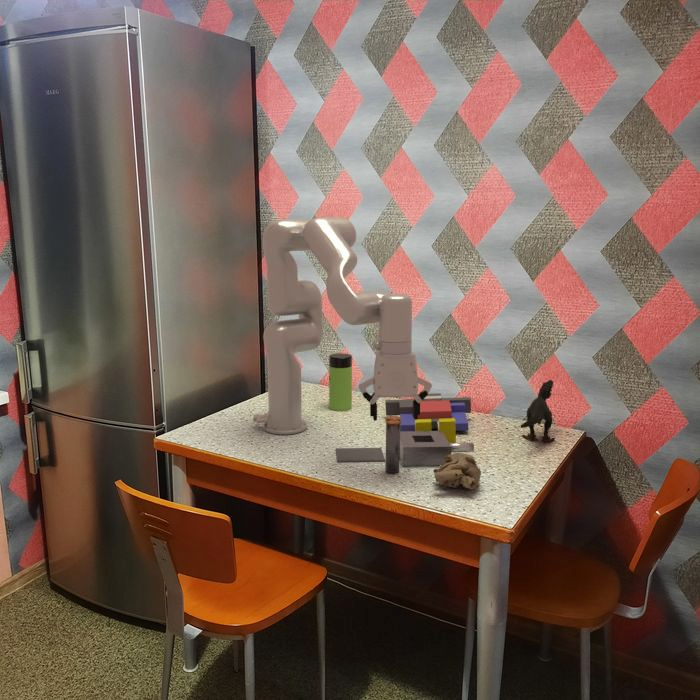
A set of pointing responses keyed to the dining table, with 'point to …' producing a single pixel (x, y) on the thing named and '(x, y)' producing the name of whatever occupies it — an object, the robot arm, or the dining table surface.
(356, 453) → the mat
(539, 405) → the toy
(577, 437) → the dining table surface
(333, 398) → the tumbler
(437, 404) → the toy
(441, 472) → the tan lumpy mass
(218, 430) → the dining table surface
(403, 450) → the block
